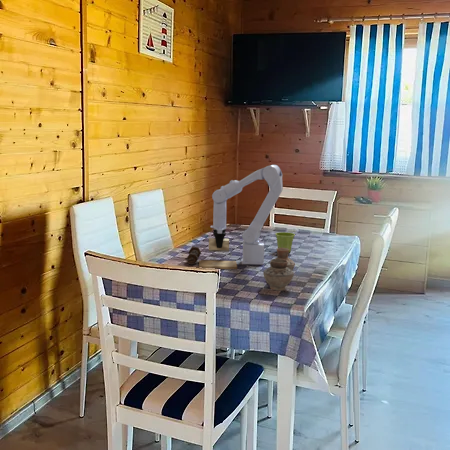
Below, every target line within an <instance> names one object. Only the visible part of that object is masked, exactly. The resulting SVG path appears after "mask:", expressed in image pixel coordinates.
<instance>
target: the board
mask: <svg viewBox="0 0 450 450" xmlns="http://www.w3.org/2000/svg"><path fill="white" fill-rule="evenodd" d="M198 260H199V262H198V268H199V267H202V268H201V269H206V268H220V269H219V270H238V264H237V261H236V260H210V259H209V260H208V259H207V260H206V259H205V260H202V259H198Z"/></svg>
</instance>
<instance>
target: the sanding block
mask: <svg viewBox="0 0 450 450" xmlns="http://www.w3.org/2000/svg"><path fill="white" fill-rule="evenodd" d="M208 252H210V253H211V252H212V253H213V252H215V253H216V252H218V253H219V252H220V253H229V252H230V238H225V237H224V240H223V245H222V248H217V246H216V239H215V237H214V238H213V237H210V238H209V237H208Z"/></svg>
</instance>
